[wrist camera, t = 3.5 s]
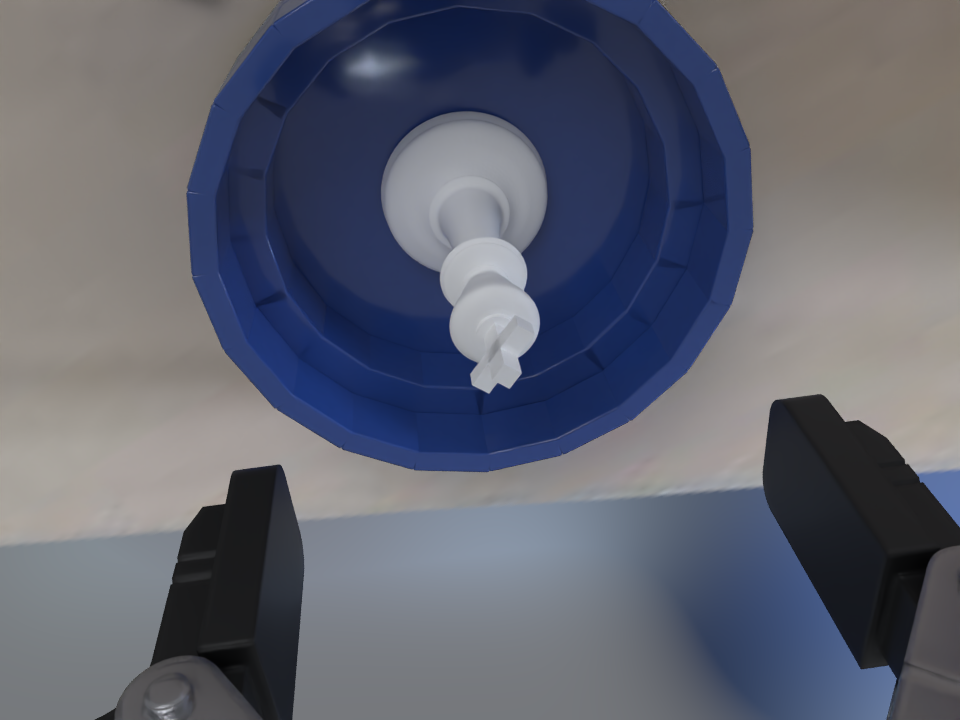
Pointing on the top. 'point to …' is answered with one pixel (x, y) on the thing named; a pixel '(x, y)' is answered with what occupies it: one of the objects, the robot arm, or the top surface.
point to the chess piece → (472, 230)
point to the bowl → (417, 290)
